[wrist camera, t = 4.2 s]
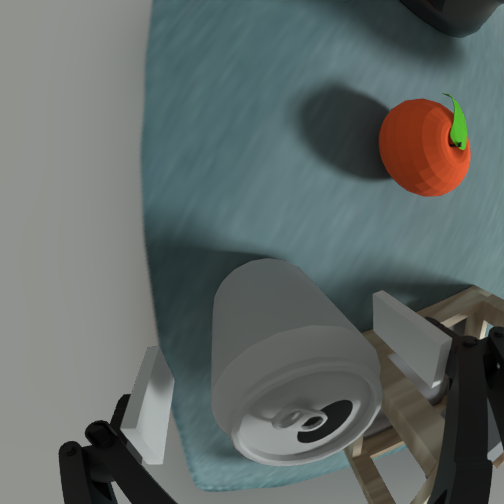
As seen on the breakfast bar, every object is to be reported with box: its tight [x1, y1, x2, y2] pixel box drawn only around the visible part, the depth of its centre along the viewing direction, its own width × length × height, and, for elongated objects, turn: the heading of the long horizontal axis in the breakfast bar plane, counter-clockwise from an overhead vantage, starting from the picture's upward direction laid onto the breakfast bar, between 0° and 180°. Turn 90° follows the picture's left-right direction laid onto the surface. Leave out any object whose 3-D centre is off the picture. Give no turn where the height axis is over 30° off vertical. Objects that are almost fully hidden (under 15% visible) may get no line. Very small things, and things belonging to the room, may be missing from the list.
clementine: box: [378, 93, 471, 196], centre depth 15 cm, size 8×7×7 cm
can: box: [211, 258, 383, 466], centre depth 15 cm, size 8×8×12 cm
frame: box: [343, 285, 504, 504], centre depth 17 cm, size 18×17×15 cm
